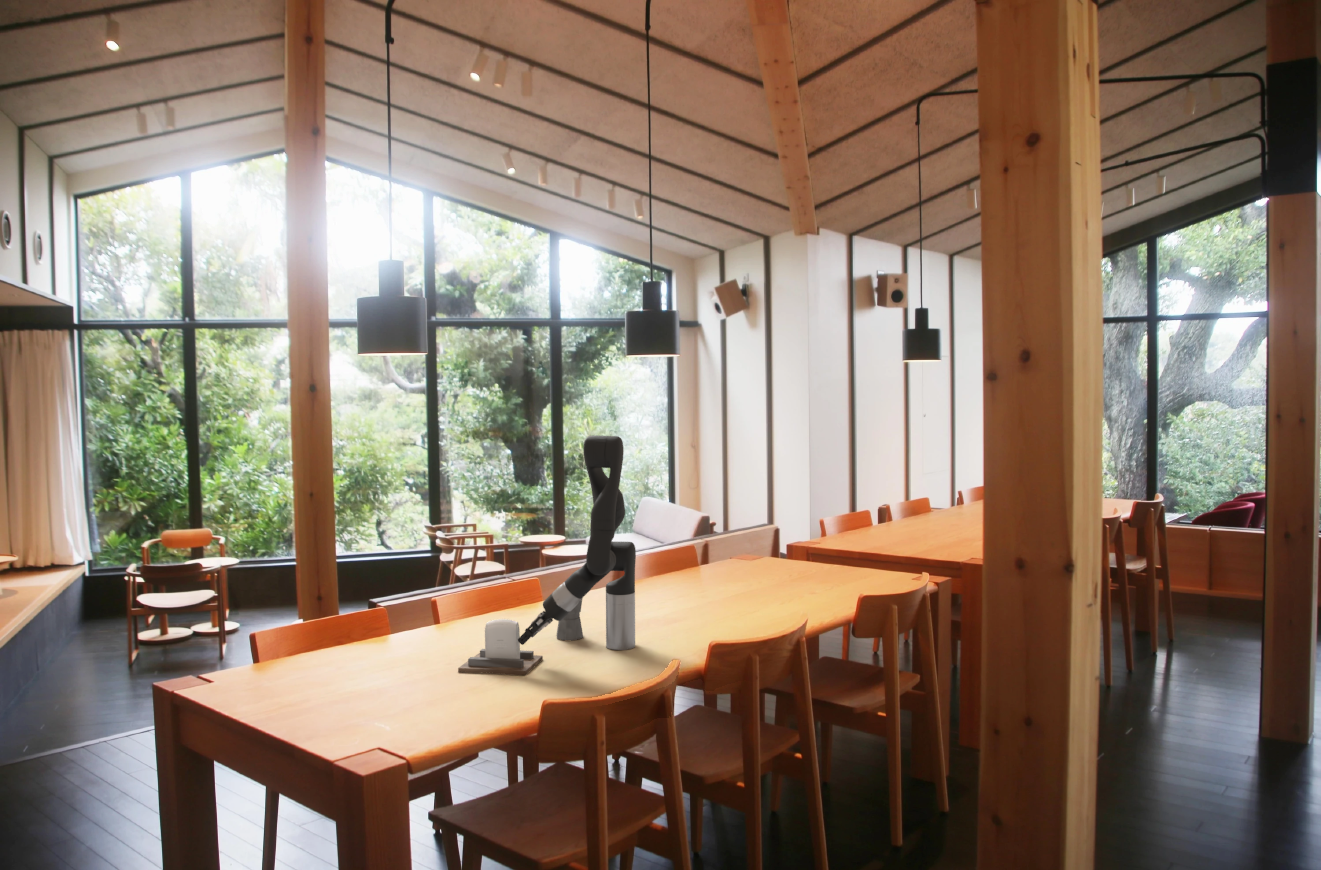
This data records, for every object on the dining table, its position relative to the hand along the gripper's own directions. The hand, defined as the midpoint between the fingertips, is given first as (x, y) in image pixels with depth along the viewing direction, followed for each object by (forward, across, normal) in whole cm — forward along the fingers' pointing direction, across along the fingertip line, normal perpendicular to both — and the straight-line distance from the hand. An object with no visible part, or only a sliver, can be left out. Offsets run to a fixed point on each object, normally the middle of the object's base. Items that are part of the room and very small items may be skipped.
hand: (525, 638), depth 252 cm
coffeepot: (+4, -36, +8) cm, 37 cm away
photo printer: (+10, 0, 0) cm, 10 cm away
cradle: (+11, 0, +1) cm, 11 cm away
